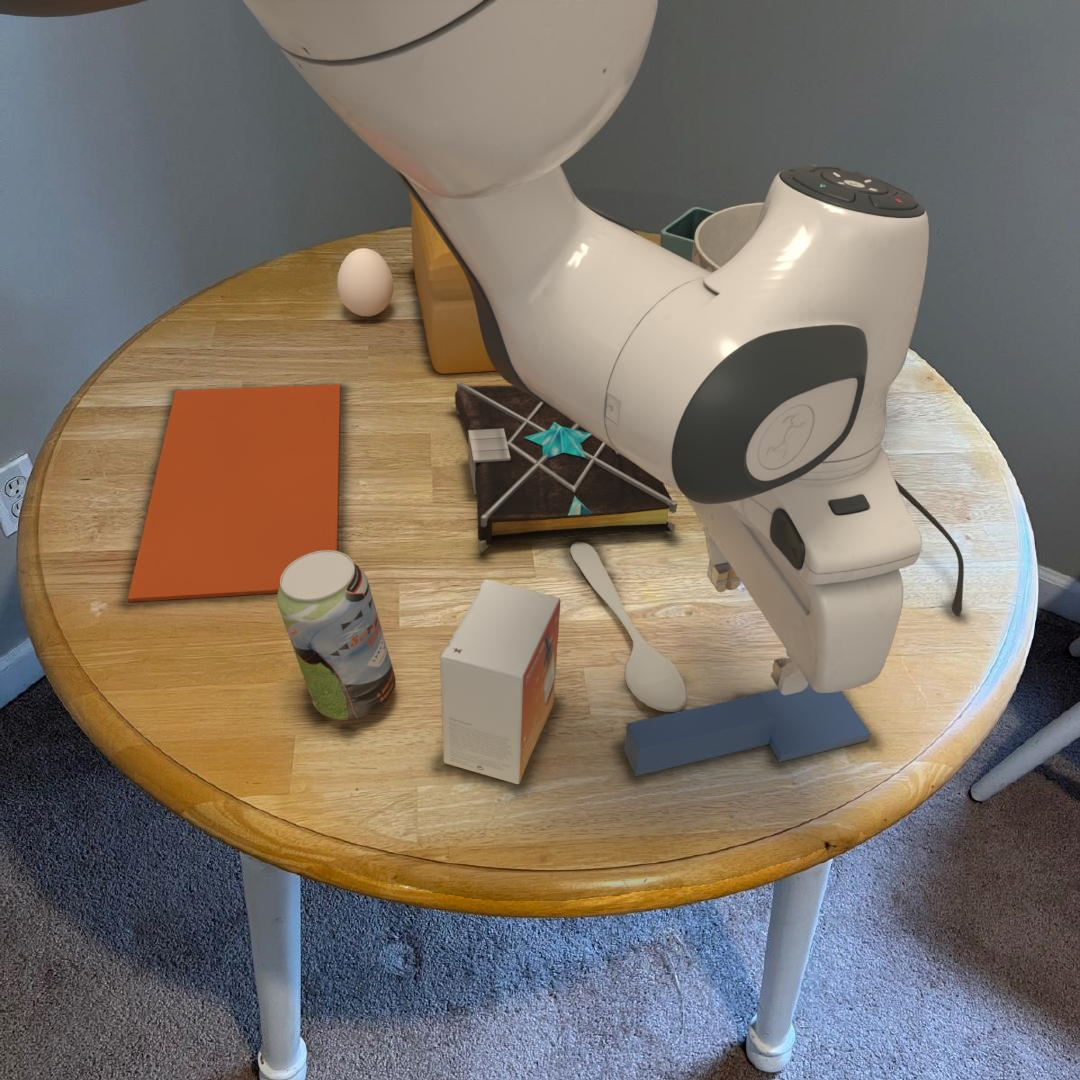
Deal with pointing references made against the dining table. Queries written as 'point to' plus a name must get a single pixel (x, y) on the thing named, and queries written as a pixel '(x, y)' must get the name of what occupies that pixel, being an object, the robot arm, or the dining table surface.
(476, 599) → the small box
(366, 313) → the egg
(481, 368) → the bread
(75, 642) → the dining table surface
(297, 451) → the flat orange board
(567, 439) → the book
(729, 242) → the planter
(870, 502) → the robot arm
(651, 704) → the spoon
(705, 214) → the flower pot
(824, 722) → the blue stepped bar
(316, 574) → the beverage can
